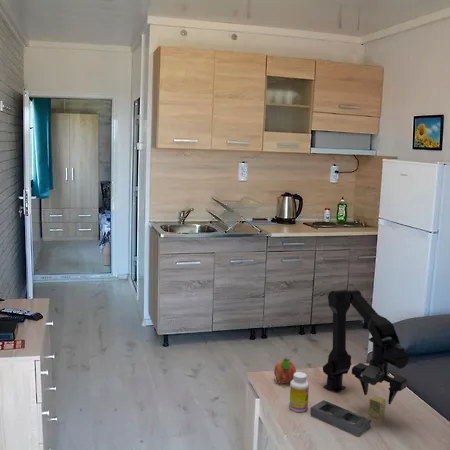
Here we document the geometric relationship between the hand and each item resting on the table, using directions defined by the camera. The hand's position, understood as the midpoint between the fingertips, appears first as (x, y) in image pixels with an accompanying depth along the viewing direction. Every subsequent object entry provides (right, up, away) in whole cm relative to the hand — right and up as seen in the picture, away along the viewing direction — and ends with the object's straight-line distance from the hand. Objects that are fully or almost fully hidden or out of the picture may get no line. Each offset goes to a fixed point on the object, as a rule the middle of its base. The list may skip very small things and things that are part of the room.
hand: (377, 399), depth 185 cm
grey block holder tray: (-14, -7, -3) cm, 16 cm away
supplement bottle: (-27, -6, +6) cm, 28 cm away
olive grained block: (0, -7, +1) cm, 7 cm away
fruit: (-29, -2, +28) cm, 41 cm away
